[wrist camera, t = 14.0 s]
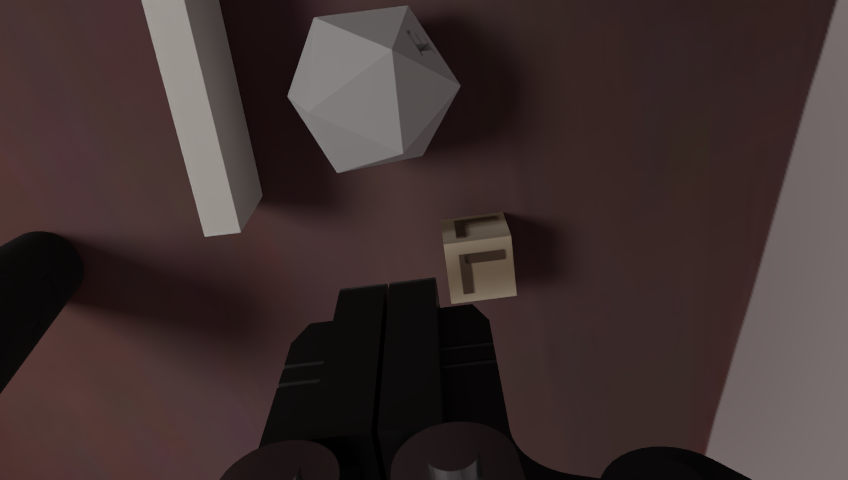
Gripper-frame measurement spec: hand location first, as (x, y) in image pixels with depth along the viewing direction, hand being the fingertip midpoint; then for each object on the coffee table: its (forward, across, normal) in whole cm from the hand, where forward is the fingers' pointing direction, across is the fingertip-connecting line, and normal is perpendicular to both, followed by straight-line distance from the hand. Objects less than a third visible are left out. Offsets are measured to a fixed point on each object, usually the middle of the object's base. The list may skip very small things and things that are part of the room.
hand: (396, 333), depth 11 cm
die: (+31, +2, +1) cm, 31 cm away
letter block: (+31, -2, +13) cm, 34 cm away
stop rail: (+31, +11, +1) cm, 33 cm away
